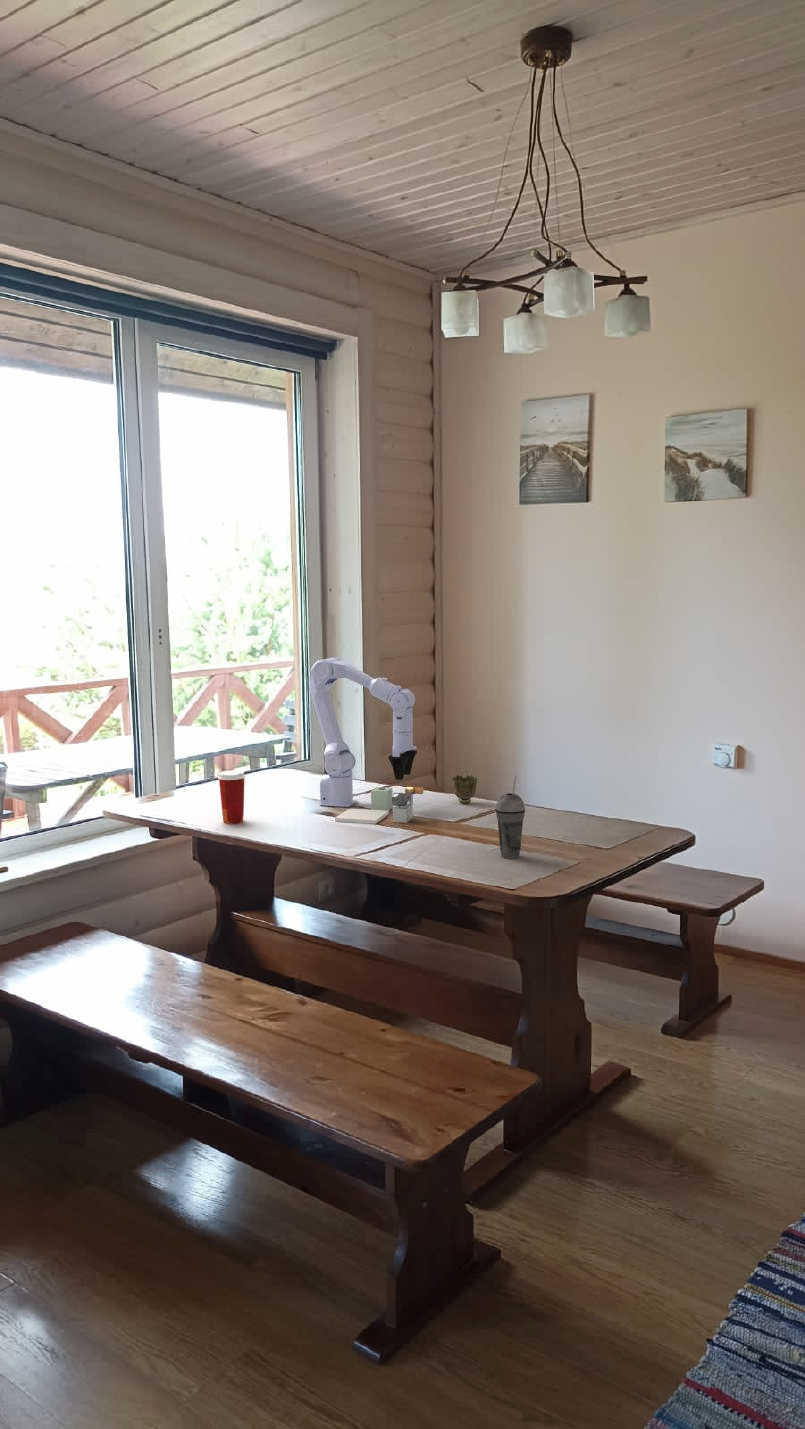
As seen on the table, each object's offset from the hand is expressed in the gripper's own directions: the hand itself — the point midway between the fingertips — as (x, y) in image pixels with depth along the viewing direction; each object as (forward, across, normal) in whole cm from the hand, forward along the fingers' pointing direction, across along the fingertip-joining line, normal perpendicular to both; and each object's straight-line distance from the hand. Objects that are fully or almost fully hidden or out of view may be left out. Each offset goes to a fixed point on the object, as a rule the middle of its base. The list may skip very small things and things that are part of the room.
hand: (402, 777), depth 294 cm
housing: (+10, -1, +6) cm, 11 cm away
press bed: (+10, -13, +8) cm, 18 cm away
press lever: (+5, -9, -4) cm, 11 cm away
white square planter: (+10, -13, -4) cm, 17 cm away
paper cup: (+10, -26, +42) cm, 51 cm away
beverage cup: (+9, -43, -40) cm, 59 cm away
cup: (+10, +12, -16) cm, 22 cm away
